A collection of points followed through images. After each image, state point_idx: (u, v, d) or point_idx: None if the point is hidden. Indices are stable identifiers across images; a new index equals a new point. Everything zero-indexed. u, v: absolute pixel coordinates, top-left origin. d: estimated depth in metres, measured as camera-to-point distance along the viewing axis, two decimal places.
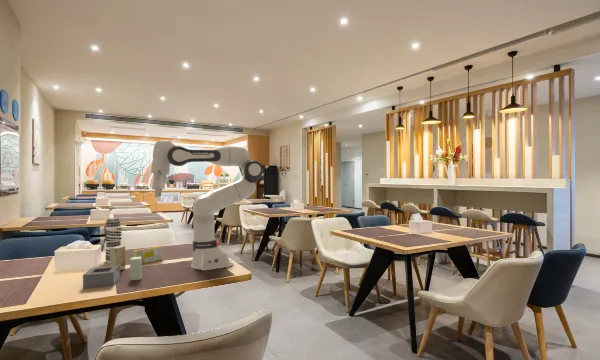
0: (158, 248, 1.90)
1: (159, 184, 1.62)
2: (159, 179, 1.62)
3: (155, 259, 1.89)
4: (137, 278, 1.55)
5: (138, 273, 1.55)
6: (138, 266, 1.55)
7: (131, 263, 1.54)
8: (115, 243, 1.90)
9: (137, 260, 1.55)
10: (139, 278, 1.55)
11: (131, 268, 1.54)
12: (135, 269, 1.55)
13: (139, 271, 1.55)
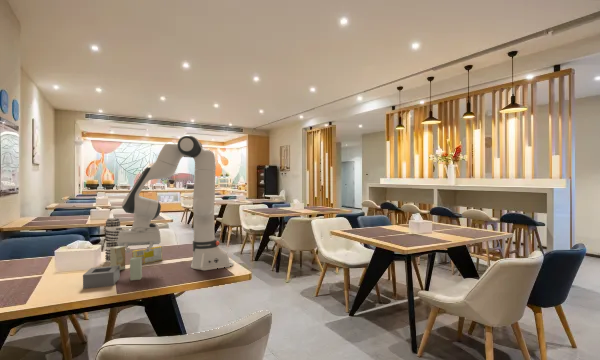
0: (158, 248, 1.90)
1: (117, 240, 1.64)
2: None
3: (155, 259, 1.89)
4: (137, 278, 1.55)
5: (138, 273, 1.55)
6: (138, 266, 1.55)
7: (131, 263, 1.54)
8: (115, 243, 1.90)
9: (137, 260, 1.55)
10: (139, 278, 1.55)
11: (131, 268, 1.54)
12: (135, 269, 1.55)
13: (139, 271, 1.55)
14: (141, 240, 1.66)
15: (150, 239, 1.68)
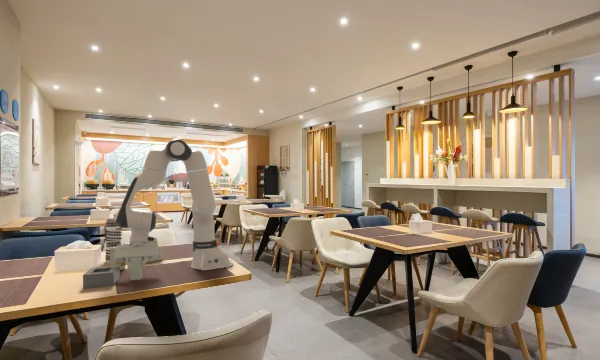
0: None
1: (114, 255, 1.57)
2: None
3: (155, 259, 1.89)
4: (137, 278, 1.55)
5: (138, 273, 1.55)
6: (138, 266, 1.55)
7: (131, 263, 1.54)
8: (115, 243, 1.90)
9: (137, 260, 1.55)
10: (139, 278, 1.55)
11: (131, 268, 1.54)
12: (135, 269, 1.55)
13: (139, 271, 1.55)
14: (139, 255, 1.59)
15: (148, 253, 1.60)
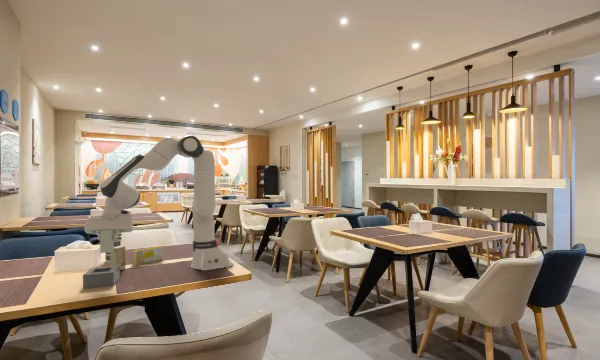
0: (158, 248, 1.90)
1: None
2: None
3: (155, 259, 1.89)
4: (107, 251, 1.50)
5: (108, 245, 1.50)
6: (109, 238, 1.50)
7: (101, 235, 1.49)
8: (115, 243, 1.90)
9: (108, 232, 1.50)
10: (110, 251, 1.50)
11: (101, 240, 1.49)
12: (106, 241, 1.50)
13: (110, 243, 1.50)
14: (111, 227, 1.54)
15: (121, 226, 1.55)
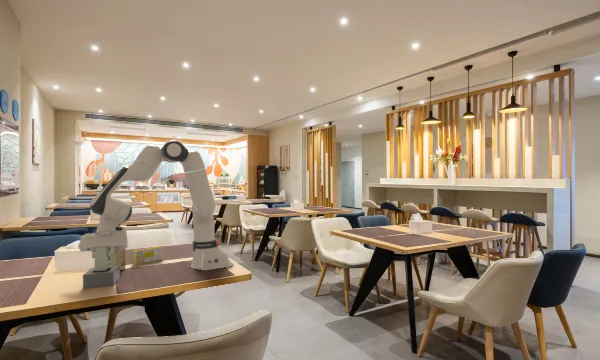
0: (158, 248, 1.90)
1: None
2: None
3: (155, 259, 1.89)
4: (102, 269, 1.49)
5: (103, 263, 1.49)
6: (103, 256, 1.49)
7: (96, 253, 1.48)
8: None
9: (102, 250, 1.49)
10: (104, 269, 1.49)
11: (95, 259, 1.48)
12: (100, 259, 1.49)
13: (104, 261, 1.49)
14: (105, 245, 1.53)
15: (115, 243, 1.54)
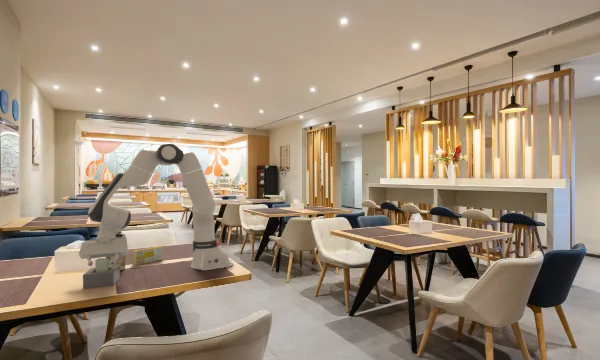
0: (158, 248, 1.90)
1: None
2: None
3: (155, 259, 1.89)
4: None
5: None
6: (104, 268, 1.49)
7: (96, 265, 1.48)
8: None
9: (103, 261, 1.49)
10: None
11: (96, 270, 1.48)
12: (101, 271, 1.49)
13: None
14: (106, 252, 1.53)
15: (116, 250, 1.54)
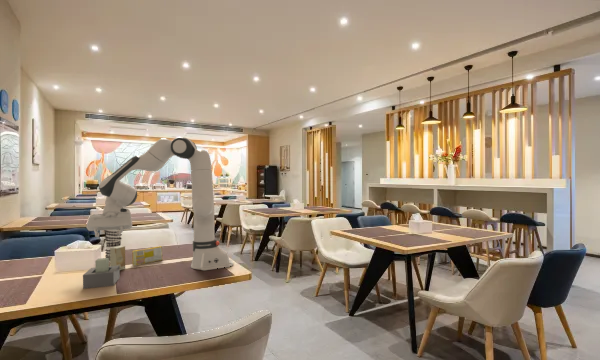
0: (158, 248, 1.90)
1: None
2: None
3: (155, 259, 1.89)
4: None
5: None
6: (104, 268, 1.49)
7: (96, 265, 1.48)
8: (115, 243, 1.90)
9: (103, 261, 1.49)
10: None
11: (96, 270, 1.48)
12: (101, 271, 1.49)
13: None
14: (111, 224, 1.64)
15: (121, 223, 1.65)
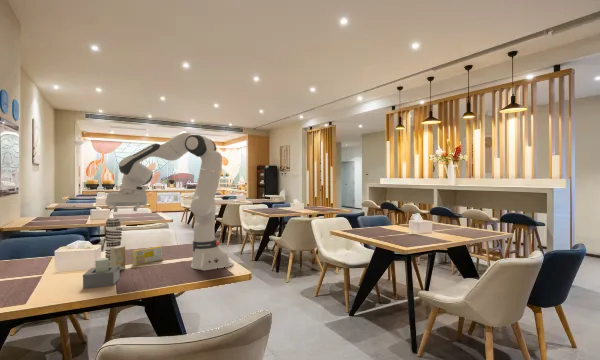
0: (158, 248, 1.90)
1: None
2: None
3: (155, 259, 1.89)
4: None
5: None
6: (104, 268, 1.49)
7: (96, 265, 1.48)
8: (115, 243, 1.90)
9: (103, 261, 1.49)
10: None
11: (96, 270, 1.48)
12: (101, 271, 1.49)
13: None
14: (128, 201, 1.75)
15: (137, 200, 1.77)
